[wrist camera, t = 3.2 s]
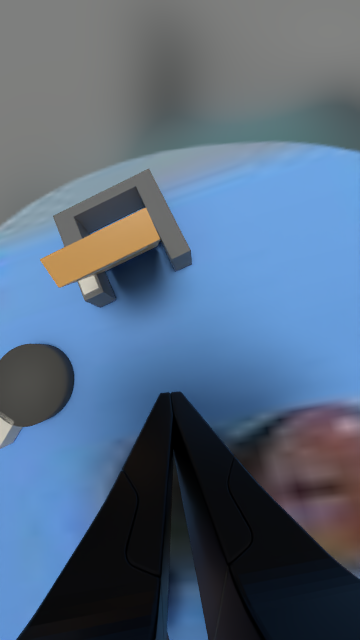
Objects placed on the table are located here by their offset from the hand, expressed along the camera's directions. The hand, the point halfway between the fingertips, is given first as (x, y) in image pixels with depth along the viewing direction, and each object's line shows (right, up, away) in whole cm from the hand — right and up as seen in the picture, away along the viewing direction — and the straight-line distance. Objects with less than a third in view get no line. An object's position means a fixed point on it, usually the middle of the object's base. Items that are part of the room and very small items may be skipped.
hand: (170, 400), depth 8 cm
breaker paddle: (-5, +11, +14) cm, 18 cm away
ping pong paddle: (-15, -4, +13) cm, 21 cm away
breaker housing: (-6, +12, +15) cm, 19 cm away
